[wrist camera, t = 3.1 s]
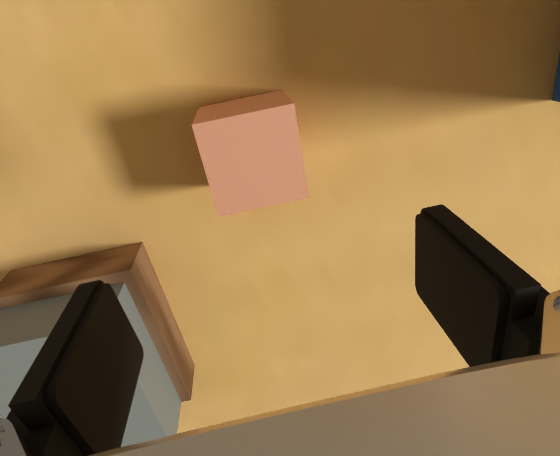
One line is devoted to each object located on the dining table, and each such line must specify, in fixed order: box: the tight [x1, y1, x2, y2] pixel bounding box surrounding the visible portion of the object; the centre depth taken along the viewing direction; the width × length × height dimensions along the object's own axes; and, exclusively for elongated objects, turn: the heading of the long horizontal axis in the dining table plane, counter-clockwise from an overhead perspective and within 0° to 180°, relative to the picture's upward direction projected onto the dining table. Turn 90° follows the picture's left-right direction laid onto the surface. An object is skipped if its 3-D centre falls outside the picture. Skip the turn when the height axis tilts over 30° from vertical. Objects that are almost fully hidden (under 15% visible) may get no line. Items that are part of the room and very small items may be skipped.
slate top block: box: [0, 282, 181, 447], centre depth 29 cm, size 10×14×4 cm
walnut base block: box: [0, 242, 195, 402], centre depth 32 cm, size 11×15×4 cm
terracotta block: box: [192, 90, 309, 217], centre depth 25 cm, size 6×6×6 cm
